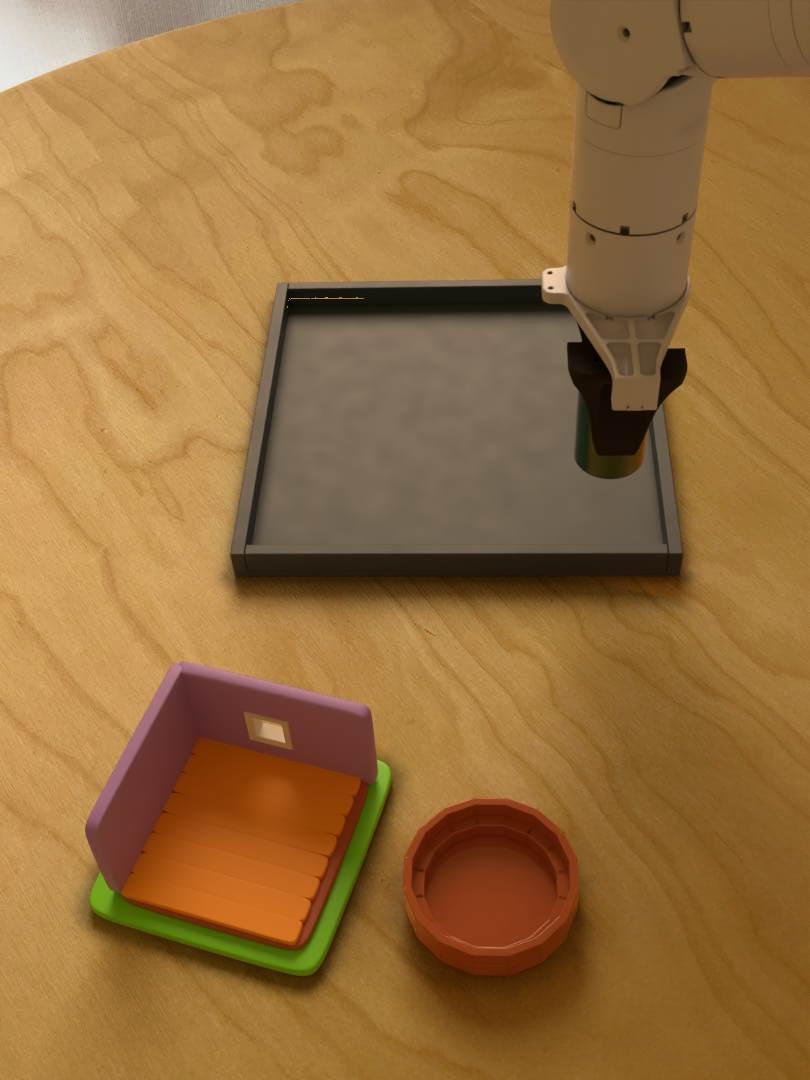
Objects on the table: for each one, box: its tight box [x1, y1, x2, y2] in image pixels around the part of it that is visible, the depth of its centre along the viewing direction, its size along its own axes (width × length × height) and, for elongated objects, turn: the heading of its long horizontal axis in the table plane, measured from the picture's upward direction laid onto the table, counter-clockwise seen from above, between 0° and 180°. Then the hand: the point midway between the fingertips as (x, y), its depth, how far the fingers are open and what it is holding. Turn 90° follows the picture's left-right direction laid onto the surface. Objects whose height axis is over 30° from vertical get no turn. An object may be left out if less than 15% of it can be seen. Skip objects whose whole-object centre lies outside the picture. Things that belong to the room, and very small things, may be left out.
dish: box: [402, 797, 580, 976], centre depth 62 cm, size 8×8×2 cm
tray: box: [229, 278, 684, 577], centre depth 85 cm, size 26×26×2 cm
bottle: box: [574, 391, 648, 479], centre depth 69 cm, size 4×4×9 cm
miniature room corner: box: [84, 661, 393, 977], centre depth 63 cm, size 12×12×7 cm
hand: (612, 421), depth 71 cm, fingers closed on bottle, 4 cm apart
